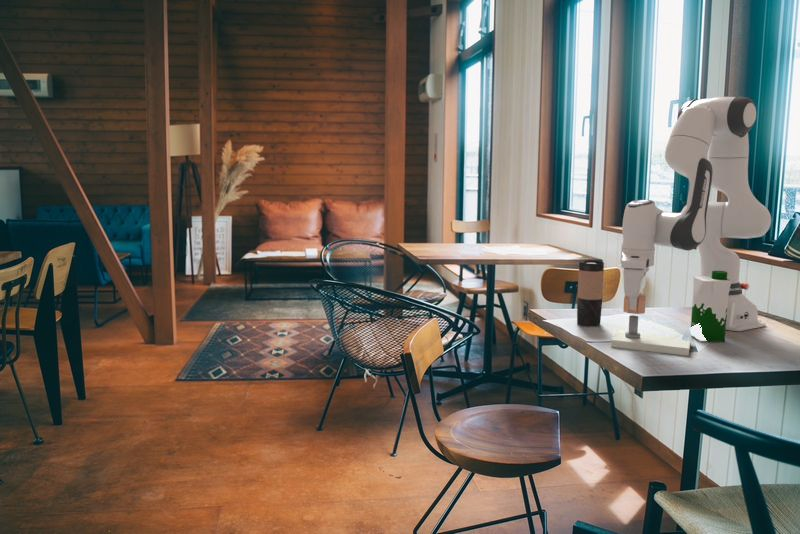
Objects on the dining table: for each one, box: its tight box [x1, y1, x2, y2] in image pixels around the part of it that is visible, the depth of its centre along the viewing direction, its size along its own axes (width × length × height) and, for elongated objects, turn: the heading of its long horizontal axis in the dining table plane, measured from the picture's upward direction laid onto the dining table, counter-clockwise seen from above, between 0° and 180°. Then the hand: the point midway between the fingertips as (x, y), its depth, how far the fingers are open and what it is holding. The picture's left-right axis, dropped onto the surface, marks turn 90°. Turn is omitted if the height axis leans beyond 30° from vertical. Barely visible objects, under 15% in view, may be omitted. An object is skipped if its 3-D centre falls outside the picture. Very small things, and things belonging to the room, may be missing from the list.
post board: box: [610, 314, 691, 356], centre depth 190 cm, size 20×12×8 cm, turn 65°
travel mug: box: [576, 260, 605, 327], centre depth 215 cm, size 8×8×20 cm
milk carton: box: [690, 271, 731, 343], centre depth 197 cm, size 9×9×20 cm
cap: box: [622, 293, 647, 315], centre depth 191 cm, size 6×6×5 cm
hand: (634, 307), depth 191 cm, fingers closed on cap, 6 cm apart
